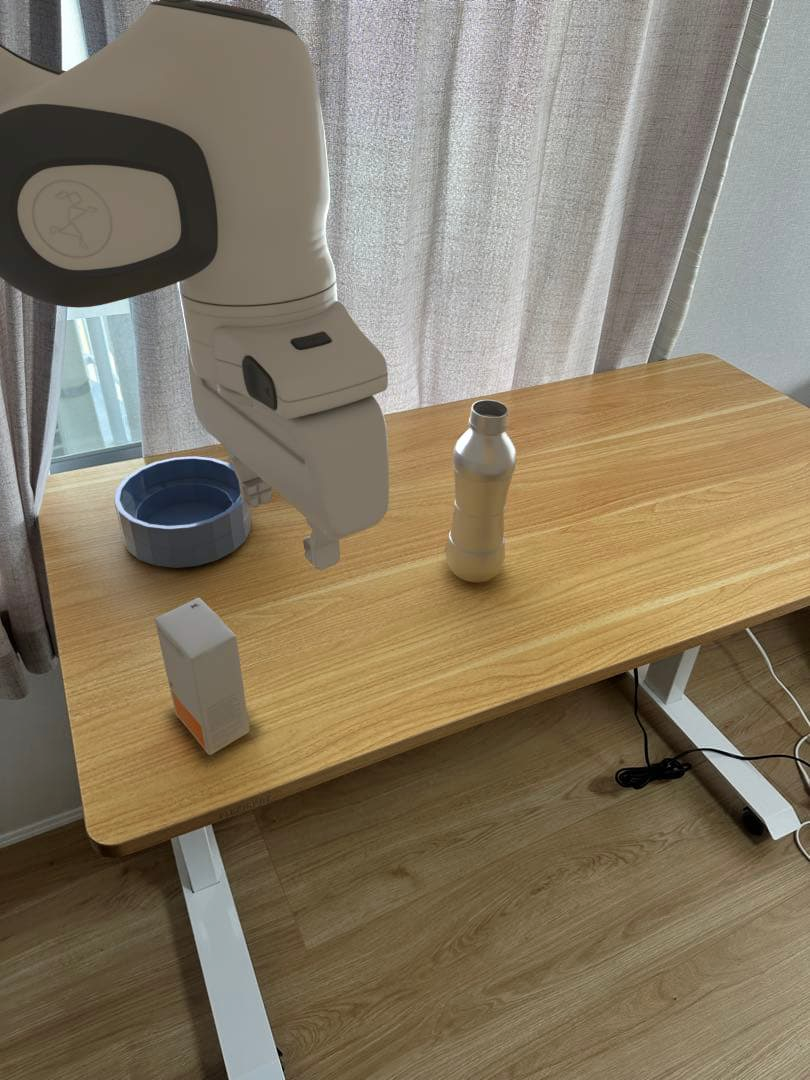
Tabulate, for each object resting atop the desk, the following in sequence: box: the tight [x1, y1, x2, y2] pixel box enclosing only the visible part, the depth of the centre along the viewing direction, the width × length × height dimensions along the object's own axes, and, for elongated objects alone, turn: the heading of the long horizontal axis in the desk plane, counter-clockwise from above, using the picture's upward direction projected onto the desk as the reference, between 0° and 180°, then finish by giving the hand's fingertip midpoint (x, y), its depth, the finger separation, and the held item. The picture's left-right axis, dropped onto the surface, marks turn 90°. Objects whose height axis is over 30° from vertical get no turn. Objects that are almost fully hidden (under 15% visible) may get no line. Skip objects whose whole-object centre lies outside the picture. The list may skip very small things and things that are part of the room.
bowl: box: [113, 455, 252, 569], centre depth 91 cm, size 14×14×6 cm
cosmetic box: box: [154, 597, 250, 756], centre depth 67 cm, size 6×4×12 cm
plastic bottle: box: [444, 399, 518, 583], centre depth 83 cm, size 6×7×20 cm
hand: (288, 530), depth 55 cm, fingers open, 8 cm apart
